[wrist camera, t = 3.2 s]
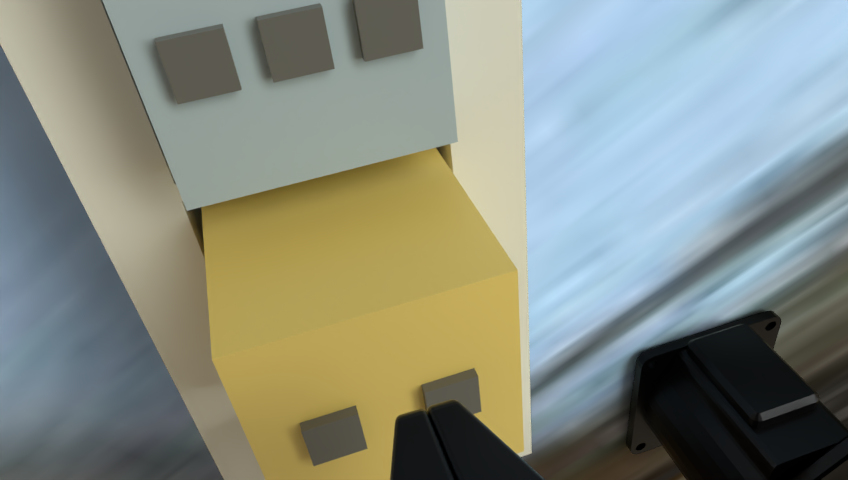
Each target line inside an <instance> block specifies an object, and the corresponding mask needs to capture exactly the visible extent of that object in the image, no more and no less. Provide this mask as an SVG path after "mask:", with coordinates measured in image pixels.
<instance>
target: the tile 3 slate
mask: <svg viewBox="0 0 848 480" xmlns="http://www.w3.org/2000/svg"><path fill="white" fill-rule="evenodd" d="M102 1H103V3H104V5H105V8H106V10H107V13H108V15H109V18H110V20H111V23H112V25H113V28H114V30H115V33H116V35H117V38H118V40H119V43H120V45H121V48H122V50H123V53H124V55H125V58H126V60H127V63H128V65H129V68H130V70H131V73H132V75H133V78H134V80H135V83H136V85H137V88H138V90H139V93H140V95H141V98H142V100H143V103H144V105H145V108H146V110H147V113H148V115H149V118H150V120H151V123H152V125H153V128H154V130H155V133H156V135H157V138H158V140H159V143H160V145H161V148H162V150H163V153H164V155H165V158H166V160H167V163H168V165H169V168H170V170H171V173H172V175H173V178H174V180H175V183H176V185H177V188H178V190H179V193H180V195H181V198H182V200H183V202H184V205H185V207H186V210H187V211H188V210H192V209H196V208H200V207H204V206H208V205H212V204H216V203H220V202H224V201H228V200H231V199H235V198H239V197H243V196H247V195H251V194H255V193H259V192H263V191H267V190H271V189H275V188H279V187H283V186H287V185H290V184H294V183H298V182H302V181H306V180H310V179H314V178H318V177H322V176H326V175H330V174H334V173H338V172H342V171H346V170H349V169H353V168H357V167H361V166H365V165H369V164H373V163H377V162H381V161H385V160H389V159H393V158H397V157H401V156H404V155H408V154H412V153H416V152H420V151H424V150H428V149H432V148H436V147H440V146H444V145H448V144H452V143H456V142H458V138H457V127H456V116H455V105H454V94H453V83H452V73H451V62H450V51H449V40H448V29H447V18H446V7H445V0H102Z"/></svg>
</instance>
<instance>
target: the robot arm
mask: <svg viewBox="0 0 848 480" xmlns="http://www.w3.org/2000/svg"><path fill="white" fill-rule="evenodd" d="M780 325H781V319H780V317H779V316H778V315H776V314H775V313H774V312H773V311H766V312H763V313H760V314H757V315H754V316H750V317H747V318H744V319H741V320H738V321H735V322H732V323H729V324H726V325H723V326H720V327H717V328H713V329H710V330H707V331H704V332H701V333H698V334H695V335H692V336H689V337H686V338H683V339H680V340H677V341H673V342H670V343H667V344H664V345H661V346H658V347H655V348H652V349H649V350H646V351H644V352H643V353H642V354H640V355H639V357H638V358H637V360H636V365H635V374H634V382H633V390H632V399H631V407H630V415H629V424H628V432H627V440H626V445H627V447H628V448H629V450H630V451H631V453H633V454H639V453H642V452H645V451H648V450H651V449H653V448H656V447H659V446H663V447H664V449H665V450H666V451H667V453H668V454H669V456H670V457H671V458H672V460H673V461H674V463H675V464H676V465H677V467H678V468H679V470H680V471H681V473H682V474H683V475H684V477H685V478H686V480H848V429H847V428H846V427H845V426H844V425H843V424H842V423H841V422H840V421H839V420H838V419H837V418H836V417H835V416H834V415H833V414H832V413H831V412H830V411H829V410H828V409H827V408H826V407H825V406H824V405H823V404H822V403H821V402H820V401H819V395H818V394H817V393H816V392H815V391H814V390H813V389H812V388H811V387H810V386H809V385H808V384H807V383H806V382H805V381H804V380H803V379H802V378H801V377H800V376H799V375H798V374H797V373H796V372H795V371H794V370H793V369H792V368H791V367H790V366H789V365H788V364H787V363H786V362H785V361H784V360H783V359H782V358H781V357H780V356H779V355H778V354H777V353H776V352H775V351H774V350H773V348H774V345H775V341H776V338H777V335H778V331H779V328H780ZM390 480H545V479H544V478H543V477H541V476H540V475H539V474H538V473H537V472H536V471H535V470H534V469H533V468H532V467H530V466H529V465H528V464H527V463H526V462H525V461H524V460H523V459H522V458H521V457H520V456H518V455H517V454H516V453H515V452H514V451H513V450H512V449H511V448H510V447H509V446H507V445H506V444H505V443H504V442H503V441H502V440H501V439H500V438H499V437H498V436H497V435H495V434H494V433H493V432H492V431H491V430H490V429H489V428H488V427H487V426H486V425H484V424H483V423H482V422H481V421H480V420H479V419H478V418H477V417H476V416H475V415H474V414H472V413H471V412H470V411H469V410H468V409H467V408H466V407H465V406H464V405H463V404H461V403H460V402H459V401H457V400H454V399H452V400H448V401H444V402H441V403H438V404H434V405H431V406H429V407H428V409H427V412H426V411H425V410H424V409H418V410H414V411H411V412H408V413H404V414H401V415H398V416H397V418H396V420H395V427H394V439H393V451H392V462H391V474H390Z"/></svg>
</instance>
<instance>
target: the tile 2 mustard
mask: <svg viewBox="0 0 848 480" xmlns="http://www.w3.org/2000/svg"><path fill="white" fill-rule="evenodd" d="M201 210H202V225H203V239H204V253H205V268H206V282H207V297H208V311H209V325H210V340H211V354H212V361H213V363H214V366H215V368H216V370H217V372H218V374H219V377H220V379H221V381H222V383H223V386H224V388H225V390H226V392H227V395H228V397H229V399H230V401H231V404H232V406H233V408H234V410H235V412H236V415H237V417H238V419H239V421H240V424H241V426H242V428H243V430H244V433H245V435H246V437H247V439H248V442H249V444H250V446H251V448H252V450H253V453H254V455H255V457H256V459H257V462H258V464H259V466H260V468H261V471H262V473H263V475H264V477H265V480H390V474H391V462H392V451H393V439H394V427H395V420H396V418H397V416H398V415H401V414H404V413H408V412H411V411H414V410H418V409H424V410H425V411H426V412H427V409H428V407H429V406H431V405H434V404H438V403H441V402H444V401H448V400H452V399H454V400H457V401H459V402H460V403H461V404H463V405H464V406H465V407H466V408H467V409H468V410H469V411H470V412H471V413H472V414H474V415H475V416H476V417H477V418H478V419H479V420H480V421H481V422H482V423H483V424H484V425H486V426H487V427H488V428H489V429H490V430H491V431H492V432H493V433H494V434H495V435H497V436H498V437H499V438H500V439H501V440H502V441H503V442H504V443H505V444H506V445H507V446H509V447H510V448H511V449H512V450H513V451H514V452H515V453H516V454H517V453H520V452H523V451H524V436H523V407H522V377H521V348H520V319H519V290H518V270H517V268H516V267H515V265H514V264H513V262H512V261H511V259H510V258H509V256H508V255H507V253H506V252H505V250H504V249H503V247H502V246H501V244H500V243H499V241H498V240H497V238H496V237H495V235H494V234H493V232H492V231H491V229H490V228H489V226H488V225H487V223H486V222H485V220H484V219H483V217H482V216H481V214H480V213H479V211H478V210H477V208H476V207H475V205H474V204H473V202H472V201H471V199H470V198H469V196H468V195H467V193H466V192H465V190H464V189H463V187H462V186H461V184H460V183H459V181H458V180H457V178H456V177H455V175H454V174H453V172H452V171H451V169H450V168H449V166H448V165H447V163H446V162H445V160H444V159H443V157H442V156H441V154H440V153H439V152H438V150H437V149H436V148H432V149H428V150H424V151H420V152H416V153H412V154H408V155H404V156H401V157H397V158H393V159H389V160H385V161H381V162H377V163H373V164H369V165H365V166H361V167H357V168H353V169H349V170H346V171H342V172H338V173H334V174H330V175H326V176H322V177H318V178H314V179H310V180H306V181H302V182H298V183H294V184H290V185H287V186H283V187H279V188H275V189H271V190H267V191H263V192H259V193H255V194H251V195H247V196H243V197H239V198H235V199H231V200H228V201H224V202H220V203H216V204H212V205H208V206H204V207H201Z"/></svg>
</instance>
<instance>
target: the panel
mask: <svg viewBox="0 0 848 480" xmlns="http://www.w3.org/2000/svg"><path fill="white" fill-rule="evenodd" d="M445 7H446V18H447V29H448V40H449V51H450V62H451V73H452V83H453V94H454V105H455V116H456V127H457V138H458V142H456V143H452V144H448V145H444V146H440V147H436V149H437V150H438V152H439V153H440V154H441V156H442V157H443V159H444V160H445V162H446V163H447V165H448V166H449V168H450V169H451V171H452V172H453V174H454V175H455V177H456V178H457V180H458V181H459V183H460V184H461V186H462V187H463V189H464V190H465V192H466V193H467V195H468V196H469V198H470V199H471V201H472V202H473V204H474V205H475V207H476V208H477V210H478V211H479V213H480V214H481V216H482V217H483V219H484V220H485V222H486V223H487V225H488V226H489V228H490V229H491V231H492V232H493V234H494V235H495V237H496V238H497V240H498V241H499V243H500V244H501V246H502V247H503V249H504V250H505V252H506V253H507V255H508V256H509V258H510V259H511V261H512V262H513V264H514V265H515V267H516V268H517V270H518V290H519V319H520V348H521V377H522V407H523V436H524V451H523V452H520V453H517V455H518V456H520V457H522V456H525V455H528V454H531V453H532V447H531V403H530V359H529V315H528V271H527V227H526V182H525V138H524V94H523V50H522V6H521V0H445ZM0 45H1V47H2V48H3V50H4V52H5V54H6V56H7V58H8V60H9V62H10V64H11V66H12V68H13V70H14V72H15V74H16V76H17V78H18V80H19V82H20V84H21V85H22V87H23V89H24V91H25V93H26V95H27V97H28V99H29V101H30V103H31V105H32V107H33V109H34V111H35V113H36V115H37V117H38V119H39V121H40V122H41V124H42V126H43V128H44V130H45V132H46V134H47V136H48V138H49V140H50V142H51V144H52V146H53V148H54V150H55V152H56V154H57V156H58V158H59V159H60V161H61V163H62V165H63V167H64V169H65V171H66V173H67V175H68V177H69V179H70V181H71V183H72V185H73V187H74V189H75V191H76V193H77V195H78V196H79V198H80V200H81V202H82V204H83V206H84V208H85V210H86V212H87V214H88V216H89V218H90V220H91V222H92V224H93V226H94V228H95V230H96V232H97V233H98V235H99V237H100V239H101V241H102V243H103V245H104V247H105V249H106V251H107V253H108V255H109V257H110V259H111V261H112V263H113V265H114V267H115V269H116V270H117V272H118V274H119V276H120V278H121V280H122V282H123V284H124V286H125V288H126V290H127V292H128V294H129V296H130V298H131V300H132V302H133V304H134V305H135V307H136V309H137V311H138V313H139V315H140V317H141V319H142V321H143V323H144V325H145V327H146V329H147V331H148V333H149V335H150V337H151V339H152V341H153V342H154V344H155V346H156V348H157V350H158V352H159V354H160V356H161V358H162V360H163V362H164V364H165V366H166V368H167V370H168V372H169V374H170V376H171V378H172V379H173V381H174V383H175V385H176V387H177V389H178V391H179V393H180V395H181V397H182V399H183V401H184V403H185V405H186V407H187V409H188V411H189V413H190V415H191V416H192V418H193V420H194V422H195V424H196V426H197V428H198V430H199V432H200V434H201V436H202V438H203V440H204V442H205V444H206V446H207V448H208V450H209V452H210V453H211V455H212V457H213V459H214V461H215V463H216V465H217V467H218V469H219V471H220V473H221V475H222V477H223V479H224V480H265V477H264V475H263V473H262V471H261V468H260V466H259V464H258V462H257V459H256V457H255V455H254V453H253V450H252V448H251V446H250V444H249V442H248V439H247V437H246V435H245V433H244V430H243V428H242V426H241V424H240V421H239V419H238V417H237V415H236V412H235V410H234V408H233V406H232V404H231V401H230V399H229V397H228V395H227V392H226V390H225V388H224V386H223V383H222V381H221V379H220V377H219V374H218V372H217V370H216V368H215V366H214V363H213V361H212V354H211V340H210V325H209V311H208V297H207V282H206V268H205V253H204V239H203V225H202V210H201V207H200V208H196V209H192V210H188V211H187V210H186V207H185V205H184V202H183V200H182V198H181V195H180V193H179V190H178V188H177V185H176V183H175V180H174V178H173V175H172V173H171V170H170V168H169V165H168V163H167V160H166V158H165V155H164V153H163V150H162V148H161V145H160V143H159V140H158V138H157V135H156V133H155V130H154V128H153V125H152V123H151V120H150V118H149V115H148V113H147V110H146V108H145V105H144V103H143V100H142V98H141V95H140V93H139V90H138V88H137V85H136V83H135V80H134V78H133V75H132V73H131V70H130V68H129V65H128V63H127V60H126V58H125V55H124V53H123V50H122V48H121V45H120V43H119V40H118V38H117V35H116V33H115V30H114V28H113V25H112V23H111V20H110V18H109V15H108V13H107V10H106V8H105V5H104V3H103V1H102V0H0Z"/></svg>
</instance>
